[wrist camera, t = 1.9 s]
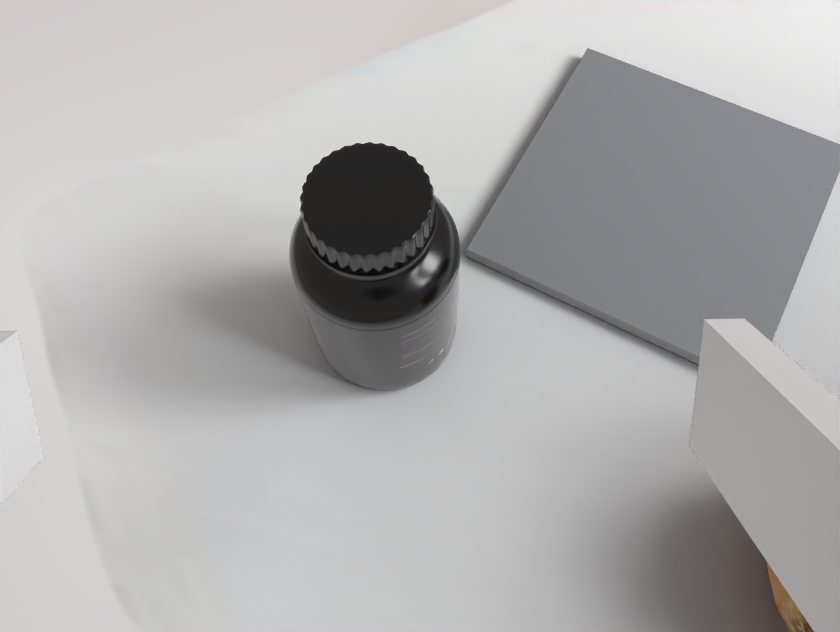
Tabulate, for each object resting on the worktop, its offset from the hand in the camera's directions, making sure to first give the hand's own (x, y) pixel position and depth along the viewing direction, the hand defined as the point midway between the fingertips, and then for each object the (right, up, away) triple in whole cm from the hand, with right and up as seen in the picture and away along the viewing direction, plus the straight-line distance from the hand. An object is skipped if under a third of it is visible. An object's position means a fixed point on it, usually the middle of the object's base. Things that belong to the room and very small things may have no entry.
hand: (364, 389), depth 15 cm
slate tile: (+14, +7, +25) cm, 30 cm away
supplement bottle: (0, +1, +23) cm, 23 cm away
